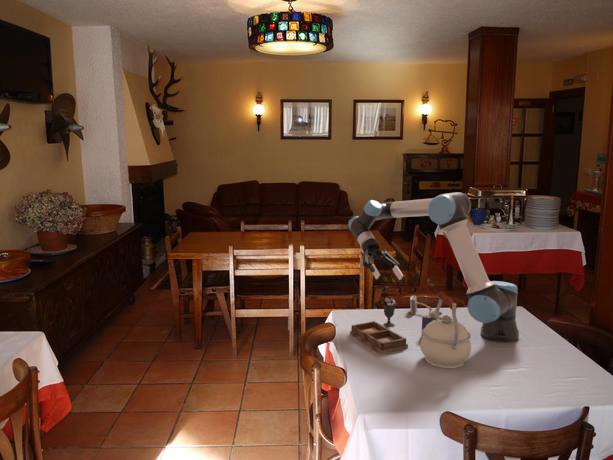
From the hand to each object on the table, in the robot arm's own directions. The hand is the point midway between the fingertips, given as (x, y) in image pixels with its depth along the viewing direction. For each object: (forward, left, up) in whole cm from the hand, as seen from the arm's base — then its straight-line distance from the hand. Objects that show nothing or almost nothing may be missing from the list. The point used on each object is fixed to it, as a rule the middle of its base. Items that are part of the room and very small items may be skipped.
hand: (390, 277), depth 227 cm
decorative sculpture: (+5, -24, -23) cm, 34 cm away
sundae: (+2, -1, -23) cm, 23 cm away
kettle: (-37, +2, -23) cm, 43 cm away
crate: (-11, +14, -23) cm, 28 cm away
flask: (-18, -9, -23) cm, 31 cm away
